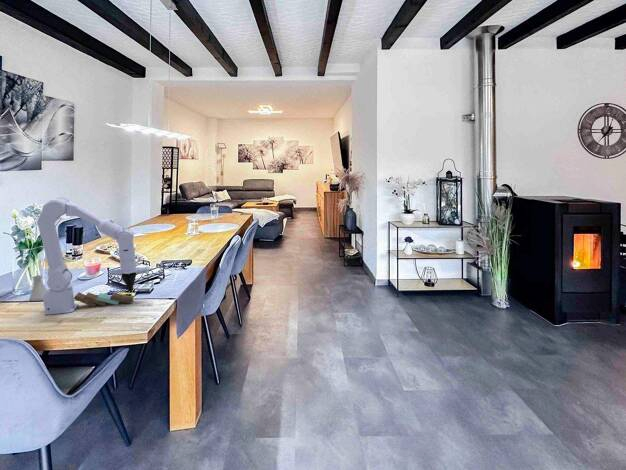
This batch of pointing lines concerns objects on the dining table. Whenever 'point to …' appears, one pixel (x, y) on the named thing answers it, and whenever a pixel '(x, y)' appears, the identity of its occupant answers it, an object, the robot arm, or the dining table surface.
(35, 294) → the flask
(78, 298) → the domino
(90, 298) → the domino
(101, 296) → the domino
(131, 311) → the dining table surface
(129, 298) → the domino
